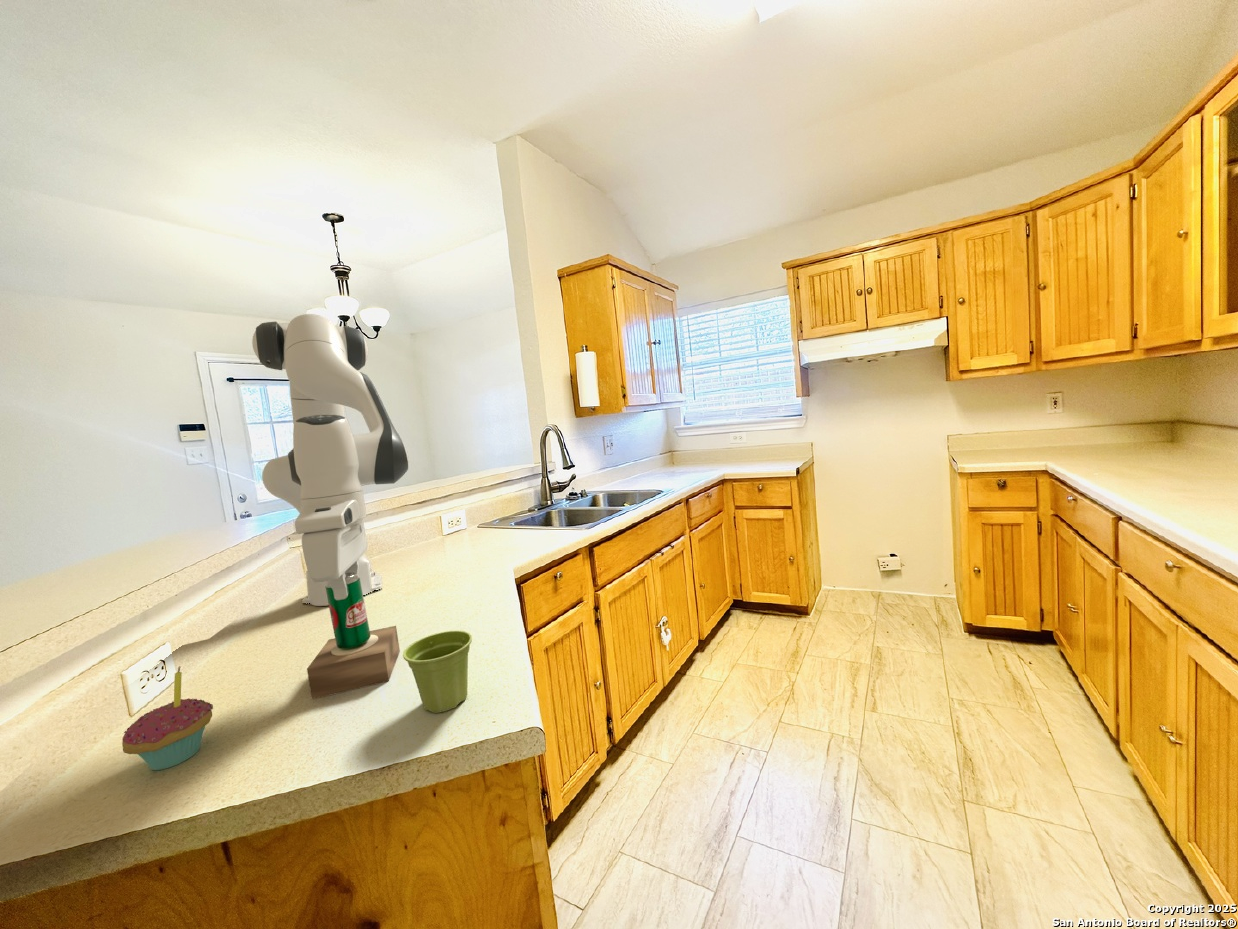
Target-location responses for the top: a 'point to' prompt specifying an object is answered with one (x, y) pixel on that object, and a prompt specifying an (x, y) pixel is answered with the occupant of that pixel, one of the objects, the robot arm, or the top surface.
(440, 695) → the plant pot
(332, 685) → the plinth
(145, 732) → the cupcake
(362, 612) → the soda can
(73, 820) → the top surface
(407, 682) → the top surface
